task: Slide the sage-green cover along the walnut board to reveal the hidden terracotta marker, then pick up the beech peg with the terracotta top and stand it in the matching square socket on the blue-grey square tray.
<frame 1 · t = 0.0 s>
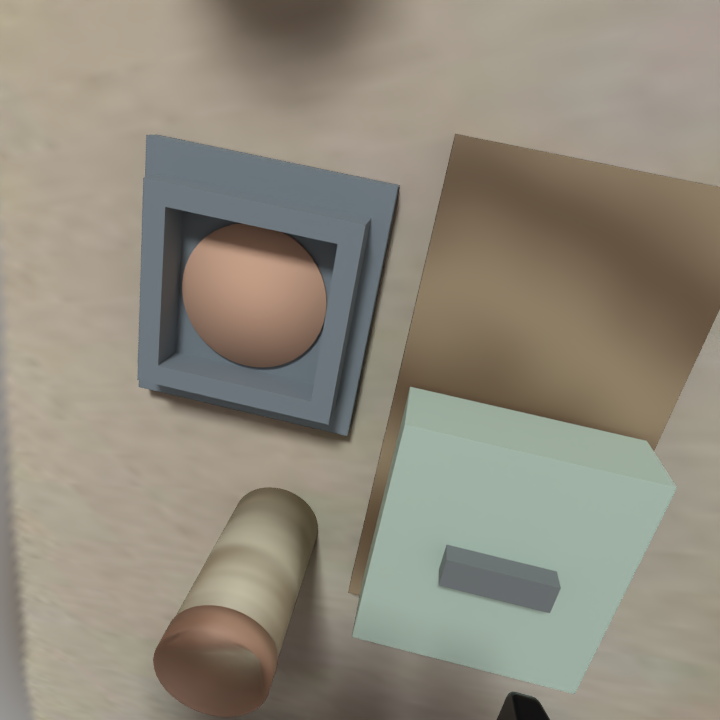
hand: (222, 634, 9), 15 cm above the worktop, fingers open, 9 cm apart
peg: (275, 523, 27), on the worktop
cover: (494, 549, 22), point 3 cm above the worktop, slide at 0.0 cm
layout board: (515, 421, 23), on the worktop
blue-grey square tray: (261, 291, 22), on the worktop
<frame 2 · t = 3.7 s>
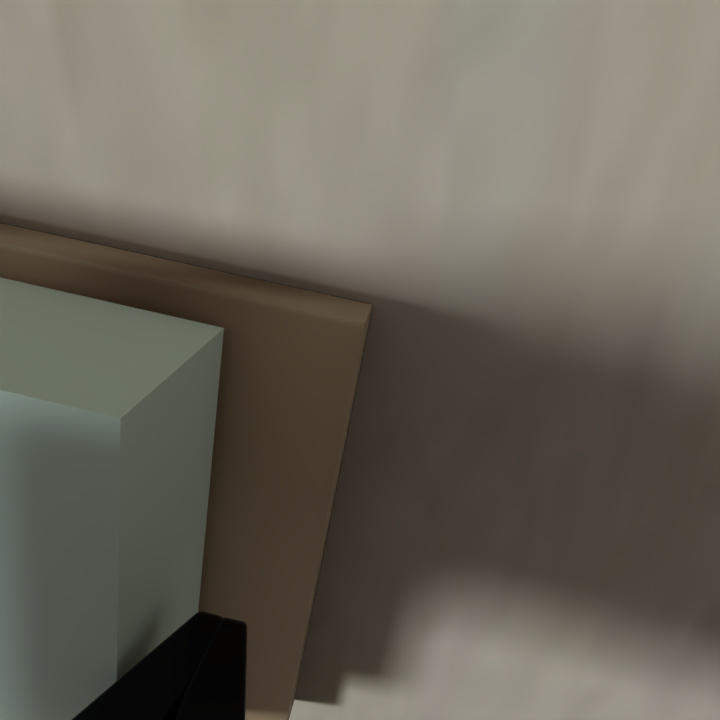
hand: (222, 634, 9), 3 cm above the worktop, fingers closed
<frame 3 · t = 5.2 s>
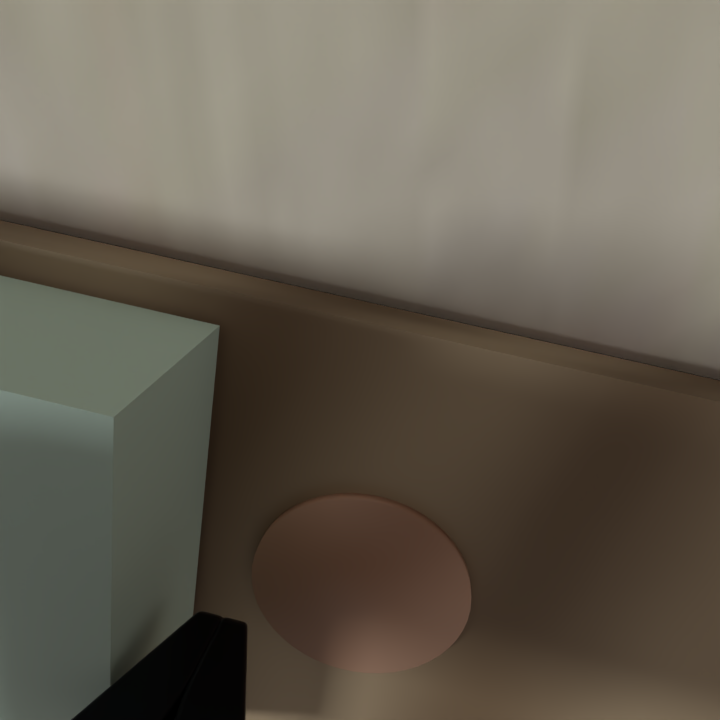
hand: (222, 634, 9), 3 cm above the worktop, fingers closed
layout board: (223, 511, 12), on the worktop
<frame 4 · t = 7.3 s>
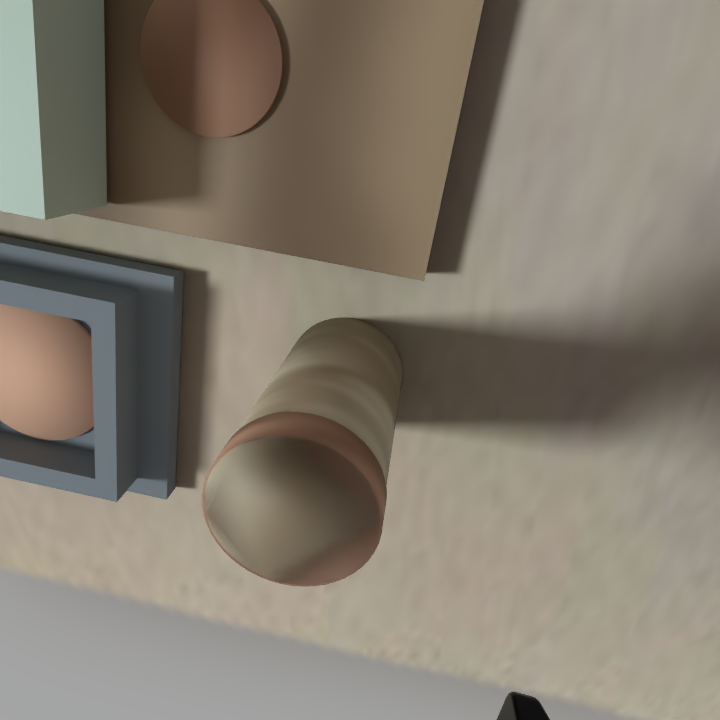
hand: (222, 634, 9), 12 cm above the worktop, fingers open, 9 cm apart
peg: (345, 372, 20), on the worktop
layout board: (127, 46, 17), on the worktop
blue-grey square tray: (51, 361, 21), on the worktop
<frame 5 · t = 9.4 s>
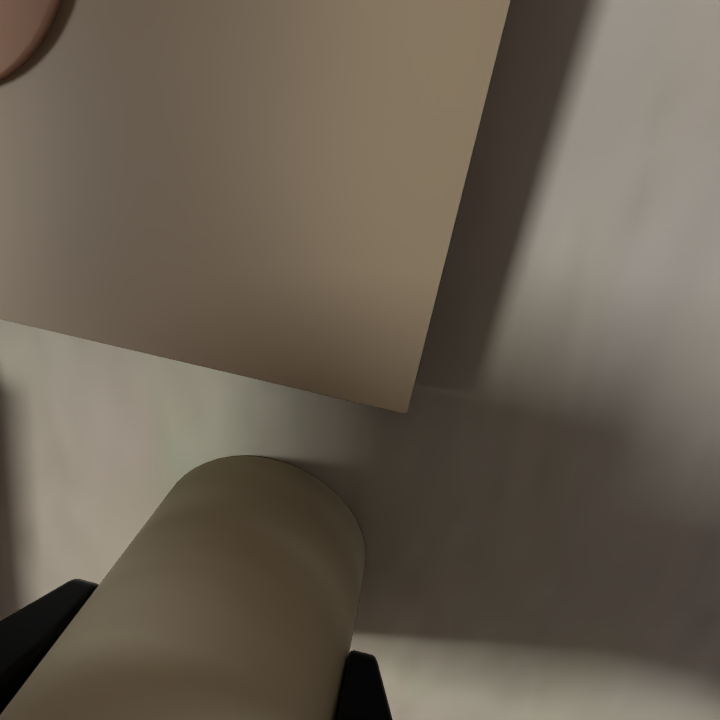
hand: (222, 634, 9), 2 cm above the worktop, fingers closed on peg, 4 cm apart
peg: (261, 547, 11), on the worktop, touching gripper
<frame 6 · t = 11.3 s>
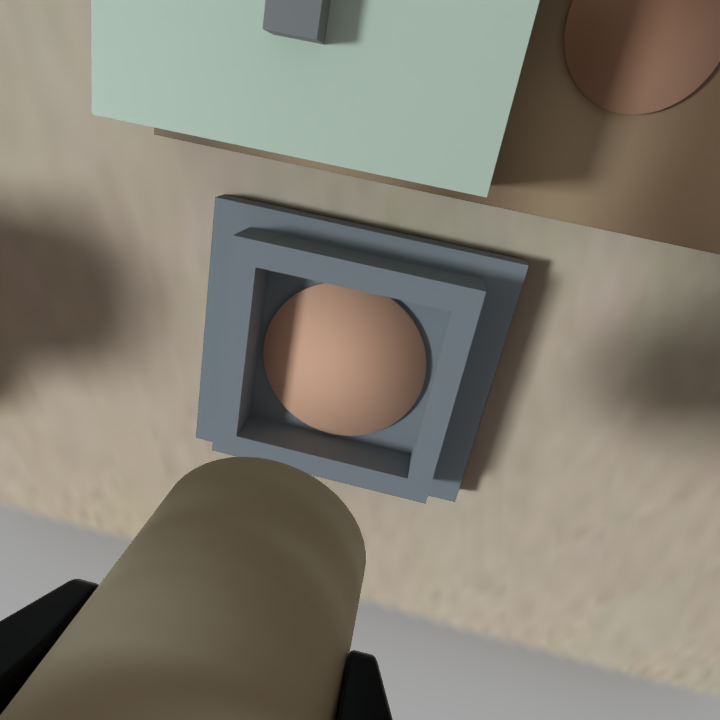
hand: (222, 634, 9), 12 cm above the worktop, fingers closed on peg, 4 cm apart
peg: (260, 548, 11), point 10 cm above the worktop, touching gripper
layout board: (524, 14, 16), on the worktop
blue-grey square tray: (348, 352, 20), on the worktop
when the fingers open (4 cm above the worktop, at t = 13.1 s): peg stays where it is, resting on blue-grey square tray.
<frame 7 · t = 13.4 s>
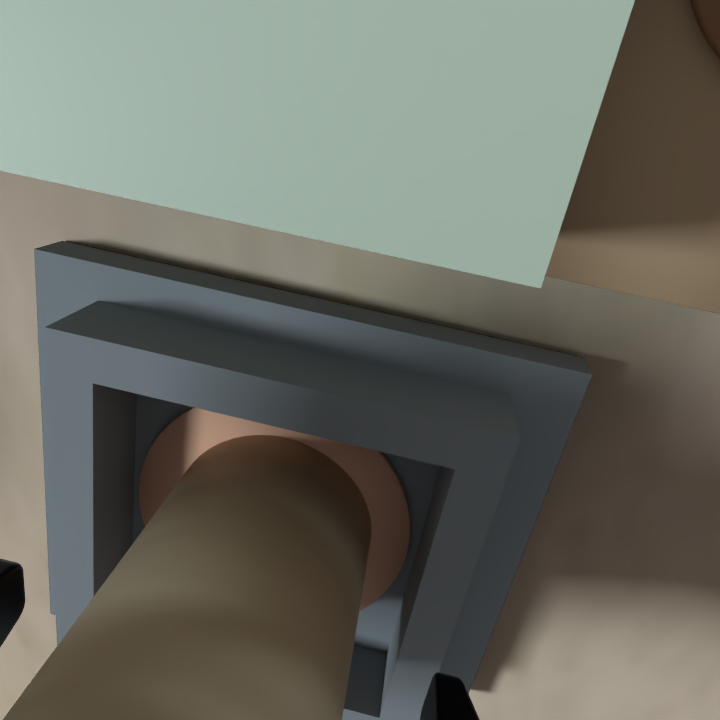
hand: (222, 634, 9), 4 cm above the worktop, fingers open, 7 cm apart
peg: (272, 522, 11), point 1 cm above the worktop, touching blue-grey square tray
blue-grey square tray: (283, 492, 12), on the worktop
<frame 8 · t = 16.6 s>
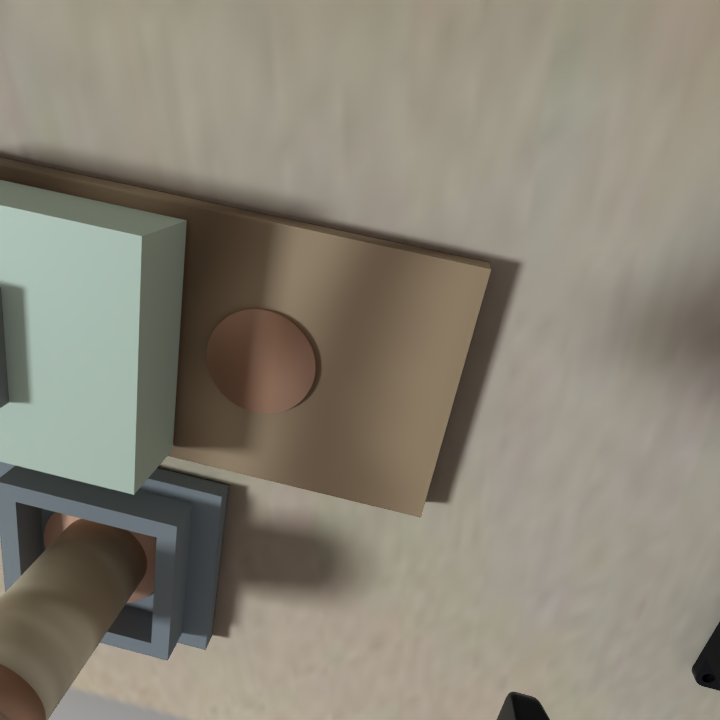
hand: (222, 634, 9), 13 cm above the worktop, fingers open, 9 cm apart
peg: (104, 554, 25), point 1 cm above the worktop, touching blue-grey square tray
cover: (12, 331, 19), point 3 cm above the worktop, slide at 9.0 cm
layout board: (193, 334, 22), on the worktop
blue-grey square tray: (115, 539, 26), on the worktop
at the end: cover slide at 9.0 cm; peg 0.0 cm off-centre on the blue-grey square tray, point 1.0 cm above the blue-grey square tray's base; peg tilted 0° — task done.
